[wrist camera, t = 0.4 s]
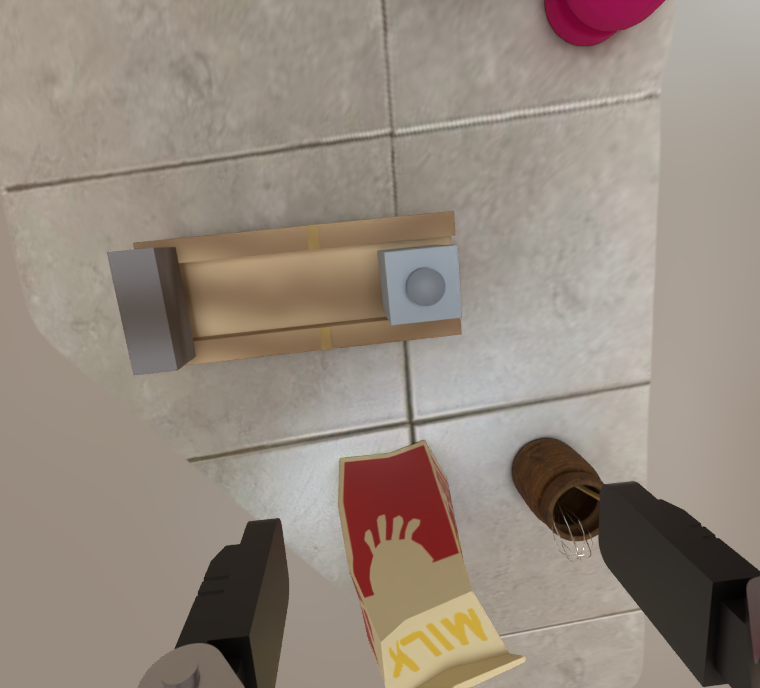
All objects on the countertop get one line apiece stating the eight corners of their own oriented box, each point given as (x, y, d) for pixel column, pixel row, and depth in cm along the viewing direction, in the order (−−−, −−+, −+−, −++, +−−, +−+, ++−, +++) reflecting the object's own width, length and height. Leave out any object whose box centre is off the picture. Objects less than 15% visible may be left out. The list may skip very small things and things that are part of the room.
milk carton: (356, 553, 42) (365, 819, 23) (334, 458, 40) (323, 662, 21) (457, 531, 42) (551, 776, 23) (440, 436, 40) (527, 616, 21)
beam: (170, 242, 36) (104, 243, 26) (435, 216, 37) (467, 207, 27) (190, 348, 37) (135, 385, 28) (442, 320, 38) (475, 347, 29)
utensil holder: (499, 452, 41) (560, 536, 29) (567, 423, 41) (655, 496, 29) (521, 508, 42) (588, 610, 31) (587, 480, 42) (679, 572, 31)
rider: (377, 250, 32) (385, 253, 25) (437, 244, 32) (461, 245, 25) (383, 310, 33) (392, 328, 26) (441, 304, 33) (466, 320, 26)
